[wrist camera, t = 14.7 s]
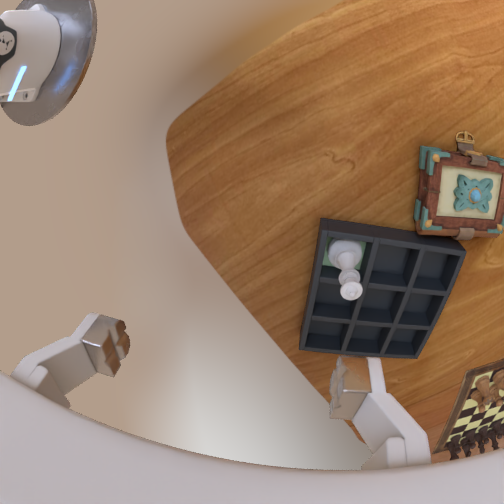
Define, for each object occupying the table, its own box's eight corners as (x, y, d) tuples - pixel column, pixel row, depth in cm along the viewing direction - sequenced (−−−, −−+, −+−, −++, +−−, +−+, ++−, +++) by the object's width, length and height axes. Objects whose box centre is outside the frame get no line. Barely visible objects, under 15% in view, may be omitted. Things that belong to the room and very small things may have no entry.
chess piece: (328, 265, 39) (332, 315, 31) (325, 235, 37) (329, 280, 29) (361, 261, 38) (373, 311, 29) (360, 231, 36) (373, 275, 28)
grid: (299, 333, 47) (298, 349, 44) (320, 217, 37) (321, 229, 34) (412, 343, 44) (417, 358, 41) (456, 238, 35) (467, 251, 31)
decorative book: (509, 232, 32) (526, 248, 28) (409, 227, 35) (421, 245, 31) (524, 143, 26) (545, 152, 21) (418, 123, 29) (434, 128, 25)
